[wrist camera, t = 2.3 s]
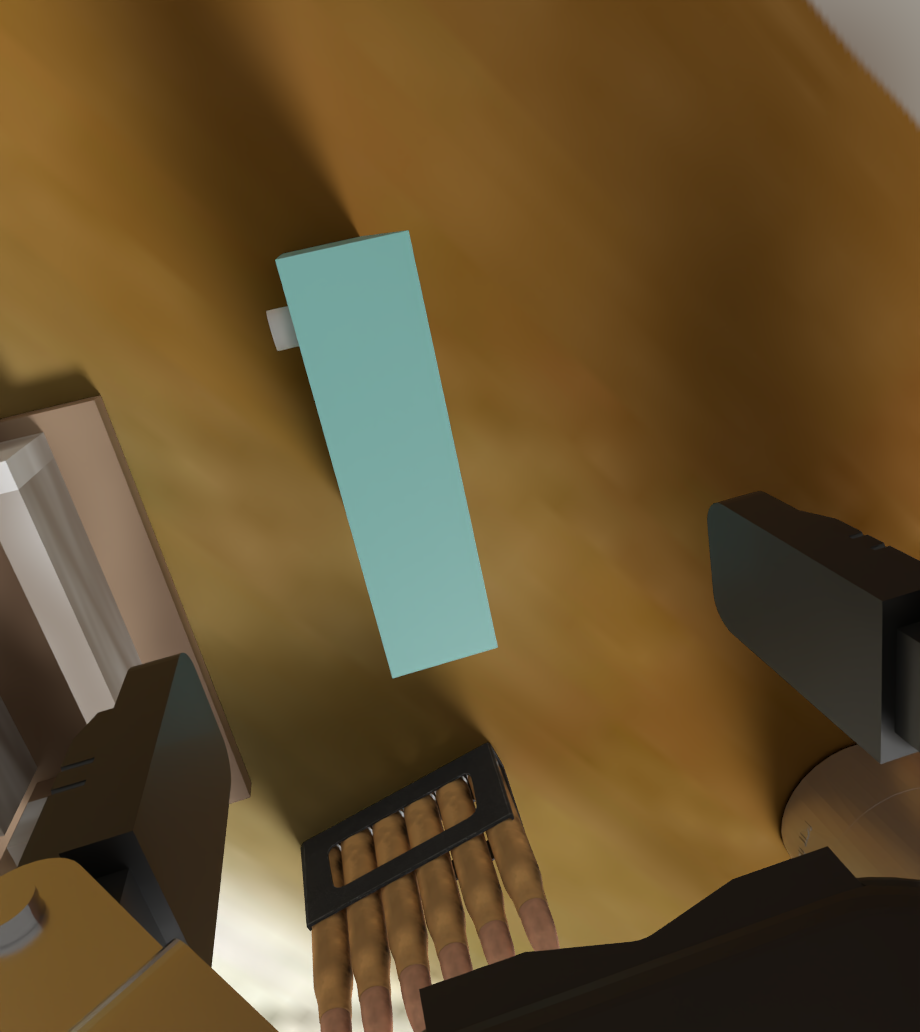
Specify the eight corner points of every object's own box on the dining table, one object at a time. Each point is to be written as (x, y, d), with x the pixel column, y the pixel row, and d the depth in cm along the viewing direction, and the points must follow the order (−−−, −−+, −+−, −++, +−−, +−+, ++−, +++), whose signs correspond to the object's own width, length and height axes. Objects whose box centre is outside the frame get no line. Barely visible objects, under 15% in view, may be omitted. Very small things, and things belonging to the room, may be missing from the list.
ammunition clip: (318, 867, 38) (329, 1121, 27) (299, 844, 38) (303, 1094, 26) (503, 766, 39) (589, 976, 27) (489, 741, 38) (570, 946, 27)
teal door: (359, 236, 29) (408, 230, 17) (422, 500, 33) (497, 647, 21) (261, 258, 28) (238, 268, 16) (337, 523, 32) (363, 686, 20)
